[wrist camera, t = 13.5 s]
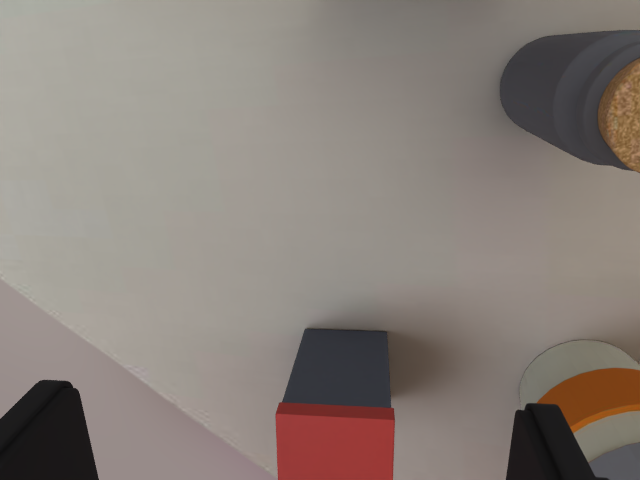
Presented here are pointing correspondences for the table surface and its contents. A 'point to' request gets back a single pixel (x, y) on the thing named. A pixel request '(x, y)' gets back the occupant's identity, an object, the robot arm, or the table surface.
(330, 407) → the red-lidded grey box
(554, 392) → the reusable coffee cup
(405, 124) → the table surface
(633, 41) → the bottle
